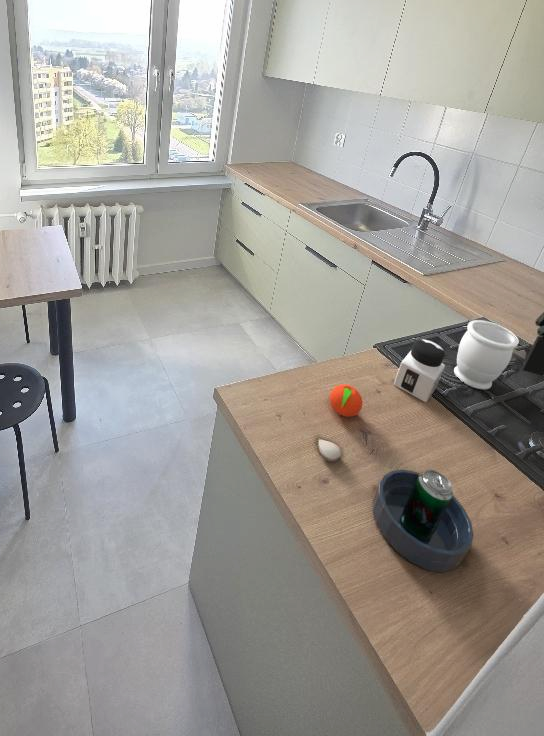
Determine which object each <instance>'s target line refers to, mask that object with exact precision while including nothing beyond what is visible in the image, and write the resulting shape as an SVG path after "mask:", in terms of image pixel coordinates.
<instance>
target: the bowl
mask: <svg viewBox="0 0 544 736" xmlns="http://www.w3.org/2000/svg"><path fill="white" fill-rule="evenodd" d="M420 473H421V472H417V471H415V470H410V469H409V470H408V469H394V470H390V471H389V472H387V473H386V474H385V475H383V477H382V478H381V480H380V483H379V485H378V487H377V490H376V492H375V495H374V498H373V499H372V514H373V517H374V521H375V524H376V526H377V528H378V529H379V531H380V532H381V535H382V536H383V538H384V539H385V540H386V541H387V542H388V544H390V546H391V547H392V548H393V549H394V550H395V551H396V552H397V553H398V554H399V555H401V556H402V557H403V558H404V559H406V560H408V561H409V562H410V563H412V564H414V565H416V566H419V567H420V568H422V569H425V570H427V571H432V572H437V573H444V572H449V571H454V570H455V569H456V568H457V567H459V566H460V564H462V562H463V561H464V558H465V557H466V556H467V554H468V552H469V550H470V548H471V546H472V543H473V540H474V534H475V533H474V530H473V524H472V523H473V522H472V520H471V519H470V517H469V515H468V513H467V511H466V509H465V507H464V506H463V505H462V504H461V502H460V501H459V500H458V499H457V498H456V496H455V495H454V494H453V497H452V499H451V501H450V503H449V505H448V507H447V509H446V511H445V513H444V515H443V517H442V519H441V521H440V523H439V524H438V526H437V528H436V530H435V532H434V534H433V536H432V537H431V538H429V539H421V538H418V537H416V536H414V535H413V534H412V533H410V532H409V531H408V529H407V528H406V527H405V525H404V524H403V521H402V517H401V515H402V512H403V510H404V507H405V505H406V503H407V501H408V498H409V496H410V494H411V492H412V490H413V487H414V485H415V483H416V481H417V478H418V476H419V474H420Z"/></svg>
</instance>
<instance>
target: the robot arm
mask: <svg viewBox="0 0 544 736" xmlns="http://www.w3.org/2000/svg"><path fill="white" fill-rule="evenodd" d="M534 323H535V326H537V327H538V328H537V331H536V333H537V335H538V336H536V338H535V340H534V342H533V344H532V346H531V348H530V350H529V352H528V354H527V356H526V357H525V359H524V361H523V363H522V366H521V369H522V371H524V372H527V373H531V374H533V375H534V374H535V375H538V376H542V377H544V311H543V312H542V313H541V314H540V315H539V316H538V317H537V318H536V319H535V322H534Z"/></svg>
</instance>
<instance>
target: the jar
mask: <svg viewBox="0 0 544 736" xmlns="http://www.w3.org/2000/svg"><path fill="white" fill-rule="evenodd" d="M466 326H467V327H466V328H467V330H466V332H465V333H464V334H463V335H462V337H461V340H460V342H459V344H458V349H457V355H456V366H455V367H454V368H453V373H454V375H455V377H456V378H457V377H458V378H459V379H460V380H459V379H458V378H457V379H458V380H459V381H461V382H462V383H463V382H464V383H463V384H465V385H467V386H468V387H471V388H474V389H478V390H489V389H491V387H492V386H493V382H494V381H495V380H497V379H498V378H499V377H500V376H501V375H502V373H503V372H504V370H506V368H507V367H508V365H509V363H510V362H511V360H512V356H513V352H514V349H516V348H517V346H518V344H519V341H520V340H519V338H518V337H517V336H516V335H515V333H513V331H511V330H509V329H508V328H506V327H505V326H503V325H500V324H498V323H496V322H495V323H494V322H492V321H488V320H484V319H474V320H473V319H472V320H470V321H469V322H468V323H467V325H466Z"/></svg>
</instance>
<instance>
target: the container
mask: <svg viewBox="0 0 544 736" xmlns="http://www.w3.org/2000/svg"><path fill="white" fill-rule="evenodd" d="M445 355H446V353H445V351H444V349H443V347H442V346H440V345H439V344H437V343H436V342H434V341H431V340H428V339H417V340H415V341H414V342H413V345H412V348H411V350H410V351H409V352H408V353H407V355H406V356H405V357H404V358H403V360H402V361H401V362H400V365H399V367H398V370H397V373H396V376H395V380H394V381H393V385H394V386H395V387H397V388H399V389H401V390H402V391H404V392H406V393H407V394H410V395H411V396H413V397H415V398H417V399H418V400H420V401H422V402H424V403H427V402H429V399H430V398H431V397H432V395H433V393H434V391H436V389H437V387H438V384H439V382H440V381H441V377H442V374H443V372H444V370H445V367H446V364H444V363H443V360H444V358H445Z"/></svg>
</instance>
